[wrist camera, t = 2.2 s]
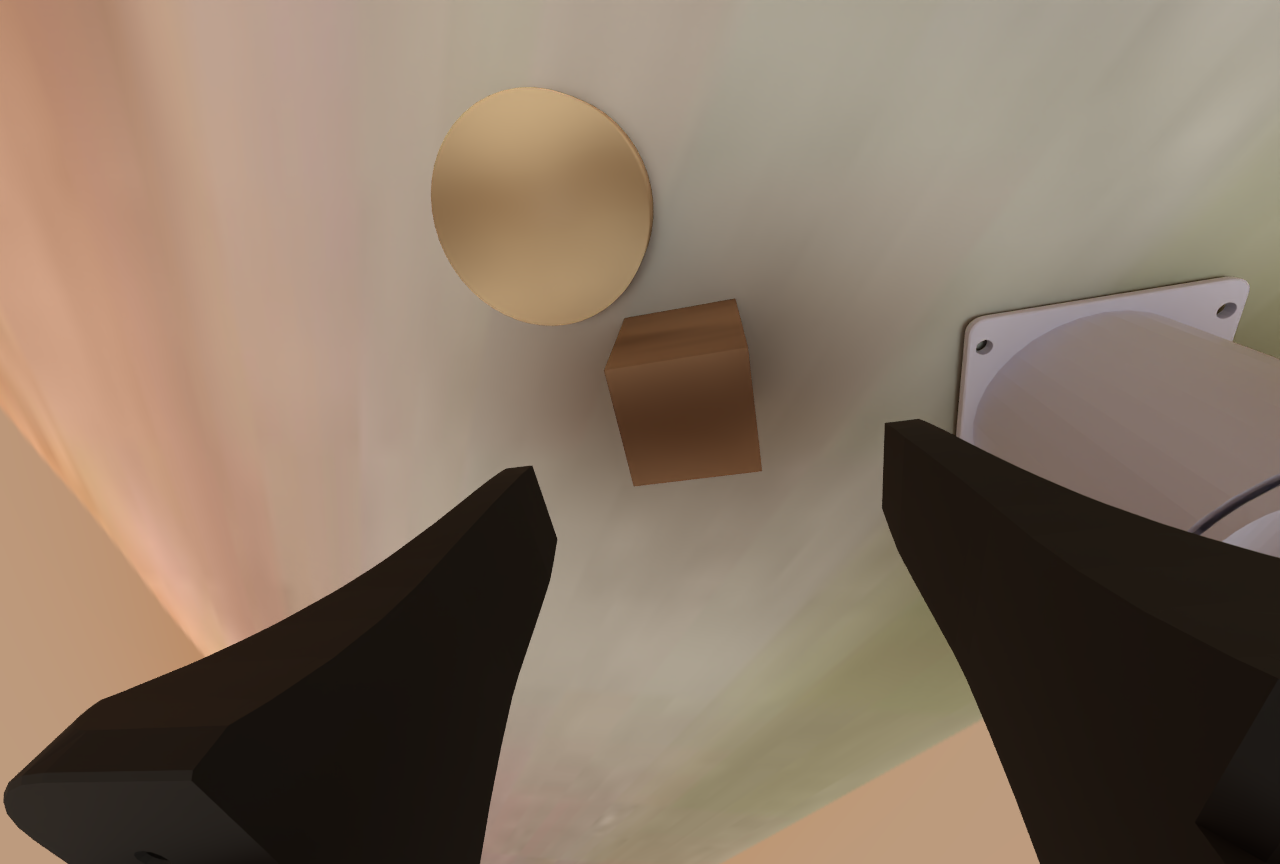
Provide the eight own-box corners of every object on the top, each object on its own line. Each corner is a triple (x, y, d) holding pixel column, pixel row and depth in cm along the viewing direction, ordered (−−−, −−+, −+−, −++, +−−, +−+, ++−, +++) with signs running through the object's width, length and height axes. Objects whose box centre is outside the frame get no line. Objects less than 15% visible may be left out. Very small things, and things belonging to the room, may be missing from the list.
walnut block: (747, 399, 20) (761, 471, 16) (646, 414, 21) (633, 486, 16) (734, 298, 18) (748, 347, 14) (624, 318, 19) (604, 370, 15)
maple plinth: (669, 290, 18) (667, 306, 17) (496, 323, 19) (476, 340, 18) (629, 67, 15) (621, 58, 14) (426, 122, 16) (395, 120, 15)
